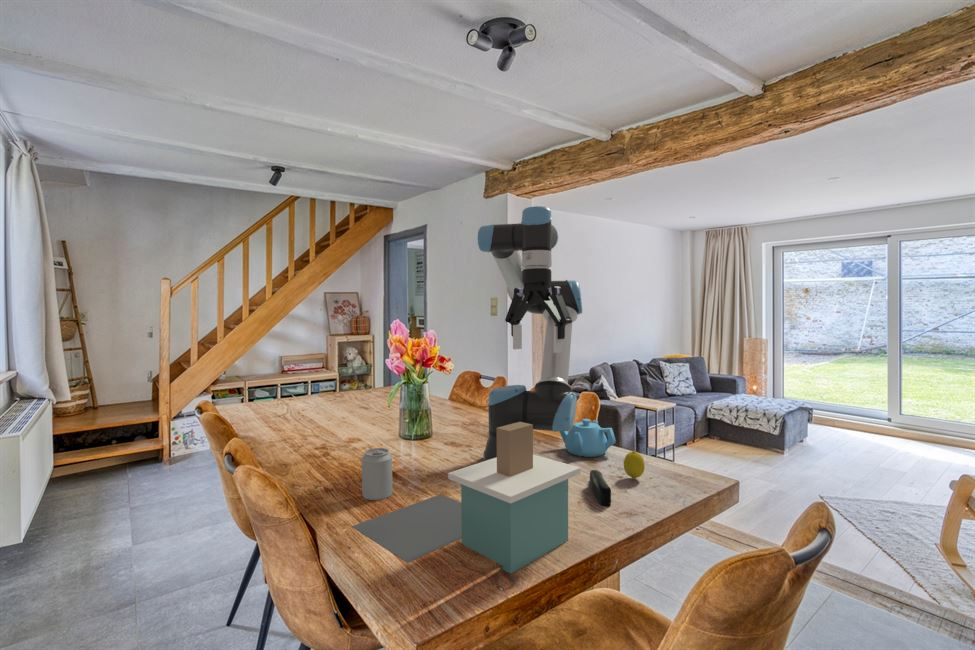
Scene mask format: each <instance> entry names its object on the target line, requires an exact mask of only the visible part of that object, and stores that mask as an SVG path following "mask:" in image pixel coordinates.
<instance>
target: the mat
mask: <svg viewBox="0 0 975 650" xmlns="http://www.w3.org/2000/svg"><path fill="white" fill-rule="evenodd" d="M351 527H352V528H353V529H355V530H356V531H358V532H359V533H361V534H363V536H366V537H367V538H369V539H370V540H371V541H373V542H375V543H377V544H378V545H380V546H381V547H382V548H384V549H386V550H387V551H389V552H390V553H392V554H393V555H395V556H396V557H398V558H399V559H401V560H403V561H404V562H406V563H411V562H413V561H415V560H418V559H420V558H421V557H424V556H426V555H428V554H431V553H432V552H435V551H438V550H439V549H441V548H443V547H445V546H447V545H450V544H452V543H455V542H456V541H459V540H460V539H461V540H462V518H461V502H460V501H459V500H456V499H453V498H452V497H449V496H447V495H444V494H443V493H440V494H437V495H434V496H431V497H429V498H425V499H424V500H421V501H418V502H414V503H413V504H410V505H407V506H403V507H402V508H398V509H396V510H393V511H390V512H387V513H385V514H381V515H378V516H376V517H373V518H370V519H368V520H366V521H362V522H360V523H356V524H353V525H352V526H351Z"/></svg>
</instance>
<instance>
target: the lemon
mask: <svg viewBox="0 0 975 650" xmlns="http://www.w3.org/2000/svg"><path fill="white" fill-rule="evenodd" d="M645 464H646V463H645V460H644V457H643V456H642V455H641V454H640V453H639V452H637V451H636V450H632V451H630V452H628V453H627V454H626V455H625V457H624V460H623V469H624V472H625V473H626V475H628V477H630V478H631V479H632V480H636V479H637V478H640V477H641V476H642V475H643V474H644V473H645Z"/></svg>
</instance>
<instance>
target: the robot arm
mask: <svg viewBox="0 0 975 650" xmlns="http://www.w3.org/2000/svg"><path fill="white" fill-rule="evenodd" d="M521 213H522V214H521V215H522V216H521V222H520V223H518V222H517V223H504V224H503V223H501V224H494V223H492V224H488V225H481V226H480V227H479V229H478V231H477V245H478V249H479V250H480V251H481V252H483V253H491V254H492V256H493V259H494V260H495V263H496V265H497V267H498V269H499V271H500V273H501V275H502V278H503V279H504V281H505V283H506V285H507V286H506V292H507V294H508V297H509V298H510V300H511V302H510V304H509V308H508V311H507V313H506V316H505V318H504V322H505V323H508V324H510V328H511V329H510V331H511V332H510V334H511V337H512V350H523V349H522V347H523V346H522V345H523V344H522V340H523V339H522V338H523V337H522V336H523V334H522V331H523V329H522V327H523V326H522V325H523V324H521V321H522V320H523V319H524V316H525V315H526V313H527V312H528V313H531V314H533V315H534V314H535V315H537V314H538V315H543V318H544V319H545V320H546V325H545V335H544V343H543V344H544V345H543V353H542V360H541V361H542V362H541V363H542V364H541V370H540V371H541V373H540V380H539V381H538V382H536V383H535V384H534V390H527V387H526V385H523V384H514V385H505V386H500V387H496V388H494V389H492V390H490V391H489V393H488V403H487V408H488V409H487V410H488V437H487V441H486V444H485V450H484V451H483V453H482V454H483V455H482V457H483V458H482V459H483V460H482V462H484V461H487V460H490V459H493V458H496V457H497V428H498V427H502V426H506V425H509V424H513V423H517V422H524V423H528V424H532V425H533V431H534V430H535V431H549V432H550V431H551V432H554V433H556V432H559V431H568V432H569V431H570V429H571V427H572V426H573V425H574V422H575V416H576V410H577V404H578V403H577V401H578V400H577V394H576V393H575V392H573V387H572V386H571V385H570V384H569V383H568V382H569V374H570V373H569V372H570V359H571V347H572V346H571V344H572V334H573V333H572V332H573V323H574V322H575V321H576V320H578V319H577V318H578V315H581V314H583V304H582V293H581V287H580V283H579V282H578V281H577V280H569V279H565V280H552V270H551V267H553V266H552V250H553V249H554V248H555V247H556V245H557V244H558V242H559V235H558V231H557V228H556V226H554V225H553V224H552V221H553V218H552V210H551V208H549V207H547V206H537V205H536V206H529V207H525V208H524V209H523V210H522V212H521ZM519 251H521V254H522V255H520V253H519Z"/></svg>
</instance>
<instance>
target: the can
mask: <svg viewBox="0 0 975 650" xmlns="http://www.w3.org/2000/svg"><path fill="white" fill-rule="evenodd" d="M363 454H364V455H363V456H362V457H361V492H362V493H361V496H362V497H363V499H365V500H367V501H379V500H381V501H382V500H384V499H387V498H390V497H391V496H392V494H393V456H392V455H391V453H390V450H389V449H388V448H385V447H376V448H369V449H367V450H364V452H363Z"/></svg>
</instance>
